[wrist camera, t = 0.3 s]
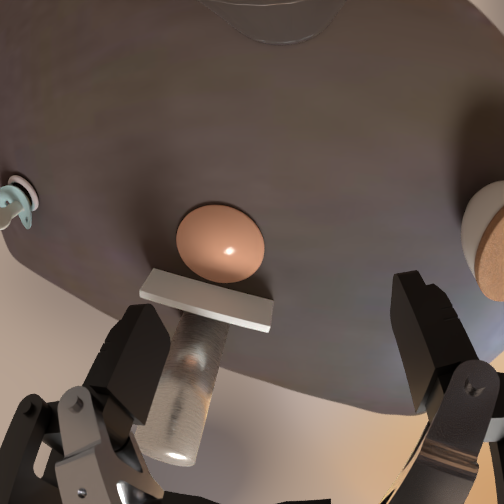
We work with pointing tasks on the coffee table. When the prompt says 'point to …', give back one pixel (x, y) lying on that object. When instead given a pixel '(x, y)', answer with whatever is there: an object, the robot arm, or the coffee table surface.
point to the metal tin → (184, 391)
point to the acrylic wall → (208, 300)
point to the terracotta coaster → (220, 243)
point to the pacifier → (17, 202)
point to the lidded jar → (486, 239)
